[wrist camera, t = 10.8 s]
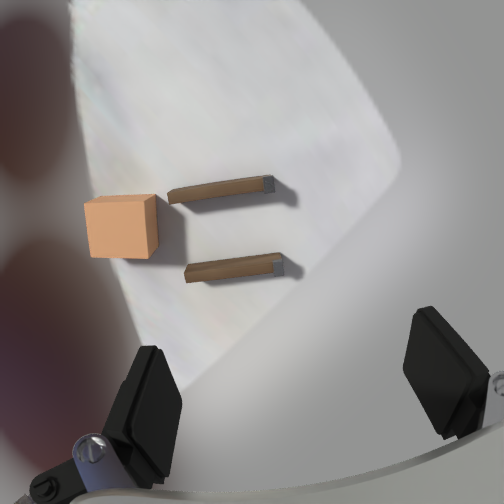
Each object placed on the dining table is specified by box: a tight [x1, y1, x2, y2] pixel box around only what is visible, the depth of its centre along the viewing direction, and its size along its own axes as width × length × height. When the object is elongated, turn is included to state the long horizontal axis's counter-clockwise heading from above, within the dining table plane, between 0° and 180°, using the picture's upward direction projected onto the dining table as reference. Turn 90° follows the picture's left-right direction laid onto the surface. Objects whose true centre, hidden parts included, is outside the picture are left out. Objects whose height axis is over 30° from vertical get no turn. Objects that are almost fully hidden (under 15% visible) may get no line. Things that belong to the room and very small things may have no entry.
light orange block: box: [84, 194, 159, 259], centre depth 31 cm, size 6×7×4 cm
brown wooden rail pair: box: [167, 175, 284, 283], centre depth 31 cm, size 10×10×3 cm
